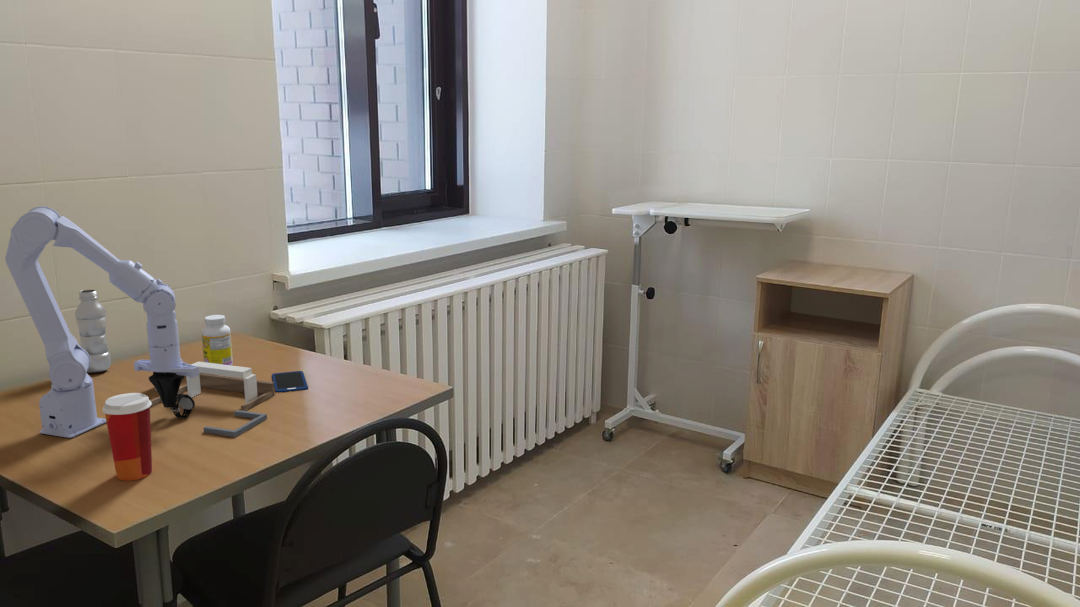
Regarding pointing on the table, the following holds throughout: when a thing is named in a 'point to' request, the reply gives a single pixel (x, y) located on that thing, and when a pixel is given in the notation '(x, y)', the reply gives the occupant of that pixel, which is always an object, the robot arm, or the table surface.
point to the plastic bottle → (93, 330)
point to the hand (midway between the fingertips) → (169, 406)
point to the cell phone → (289, 381)
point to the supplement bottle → (217, 341)
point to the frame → (233, 433)
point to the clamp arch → (224, 370)
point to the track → (231, 388)
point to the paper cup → (130, 434)
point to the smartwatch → (182, 405)
